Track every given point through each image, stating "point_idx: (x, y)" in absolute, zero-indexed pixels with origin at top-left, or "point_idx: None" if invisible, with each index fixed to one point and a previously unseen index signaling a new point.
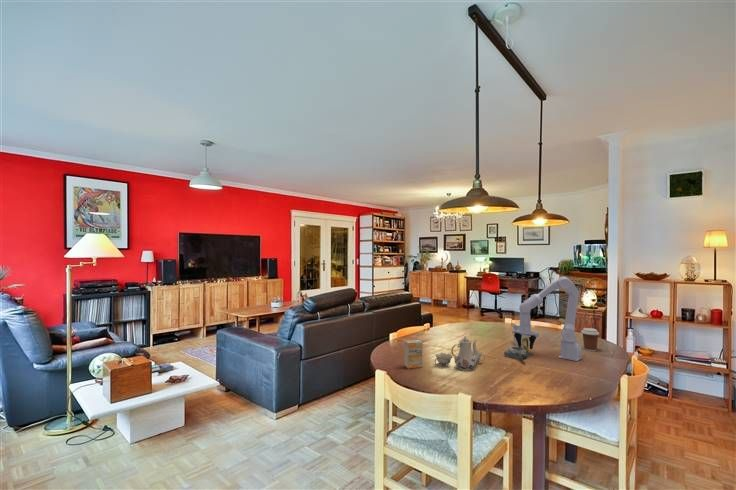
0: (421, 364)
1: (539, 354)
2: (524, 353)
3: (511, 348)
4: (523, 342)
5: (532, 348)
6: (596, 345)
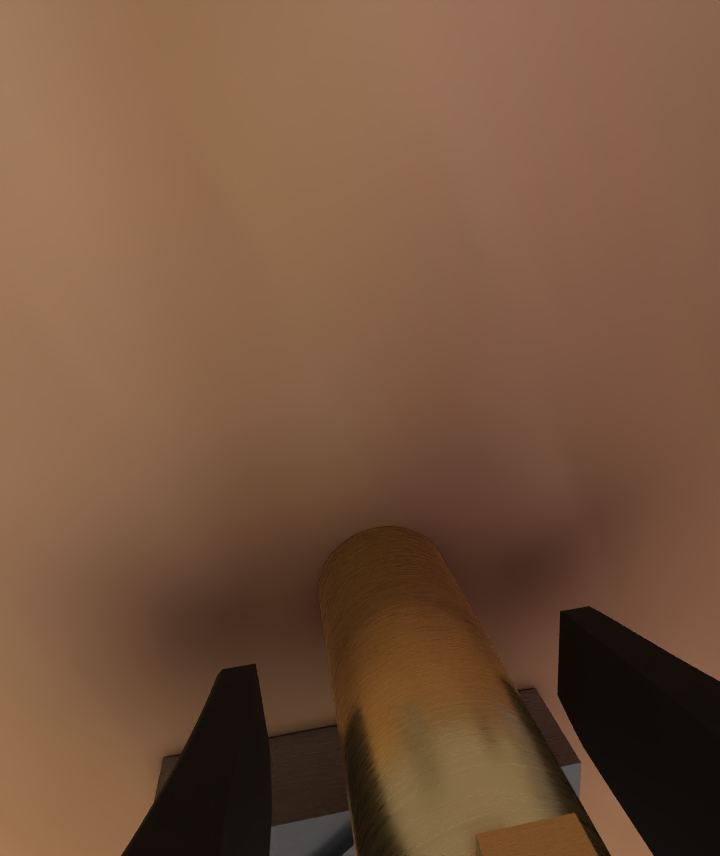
0: None
1: (634, 420)
2: None
3: None
4: None
5: (596, 616)
6: None
